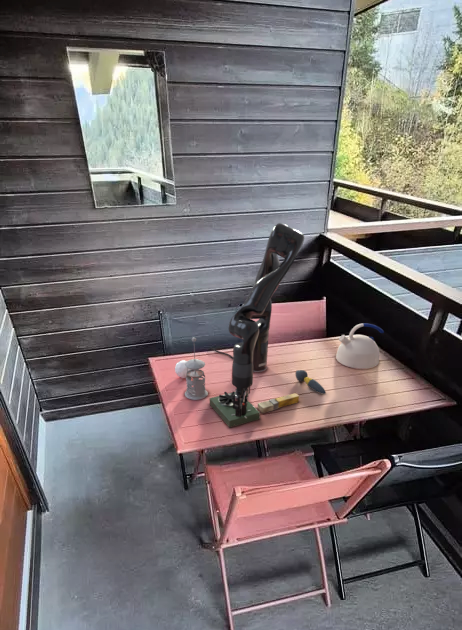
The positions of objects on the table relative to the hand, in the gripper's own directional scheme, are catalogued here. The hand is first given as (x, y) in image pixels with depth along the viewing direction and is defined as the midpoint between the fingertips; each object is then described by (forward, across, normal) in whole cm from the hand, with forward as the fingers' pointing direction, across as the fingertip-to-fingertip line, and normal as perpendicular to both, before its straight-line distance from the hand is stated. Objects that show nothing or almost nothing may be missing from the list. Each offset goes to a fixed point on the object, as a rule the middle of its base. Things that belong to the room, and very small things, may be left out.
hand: (241, 410), depth 167 cm
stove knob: (+1, 0, 0) cm, 1 cm away
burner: (+1, +7, +7) cm, 10 cm away
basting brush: (+4, +14, -11) cm, 19 cm away
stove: (+4, +4, +4) cm, 7 cm away
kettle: (+4, +67, -38) cm, 77 cm away
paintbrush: (+4, +35, -20) cm, 40 cm away
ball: (+4, +24, +34) cm, 42 cm away
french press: (+4, +13, +24) cm, 28 cm away
